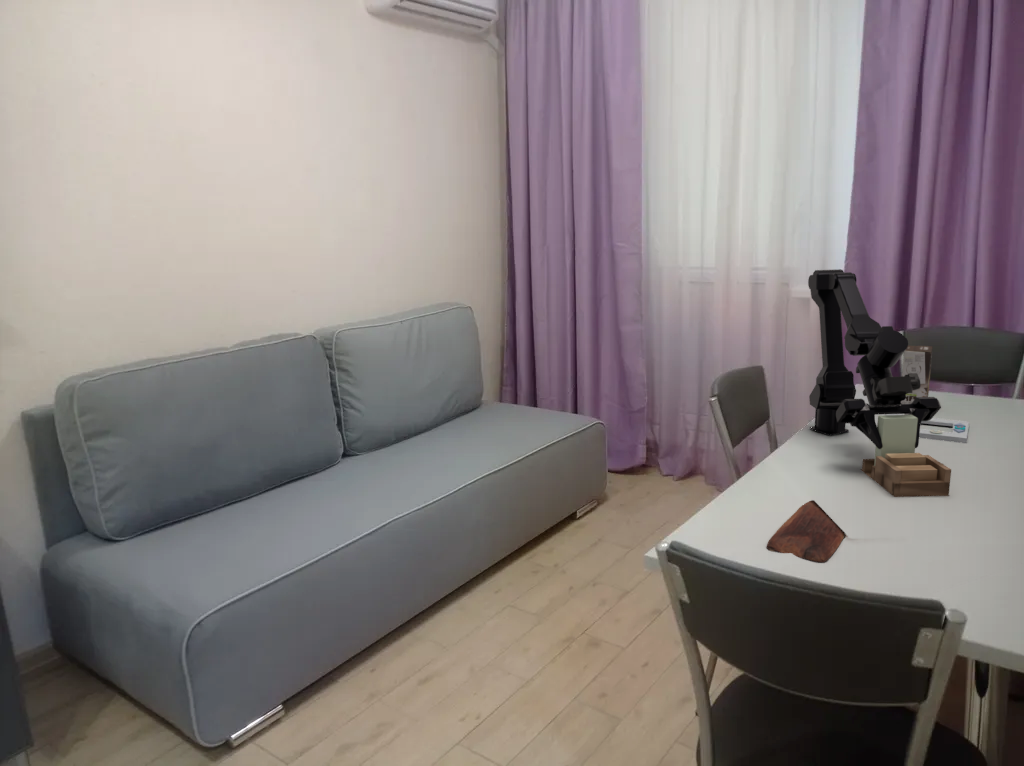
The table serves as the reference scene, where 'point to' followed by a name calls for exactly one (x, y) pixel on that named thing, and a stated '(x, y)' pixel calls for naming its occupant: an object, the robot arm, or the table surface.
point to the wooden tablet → (808, 534)
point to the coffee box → (917, 369)
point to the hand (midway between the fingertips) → (898, 447)
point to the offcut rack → (892, 483)
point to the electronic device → (956, 435)
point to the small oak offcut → (918, 473)
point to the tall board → (896, 434)
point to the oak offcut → (906, 459)
